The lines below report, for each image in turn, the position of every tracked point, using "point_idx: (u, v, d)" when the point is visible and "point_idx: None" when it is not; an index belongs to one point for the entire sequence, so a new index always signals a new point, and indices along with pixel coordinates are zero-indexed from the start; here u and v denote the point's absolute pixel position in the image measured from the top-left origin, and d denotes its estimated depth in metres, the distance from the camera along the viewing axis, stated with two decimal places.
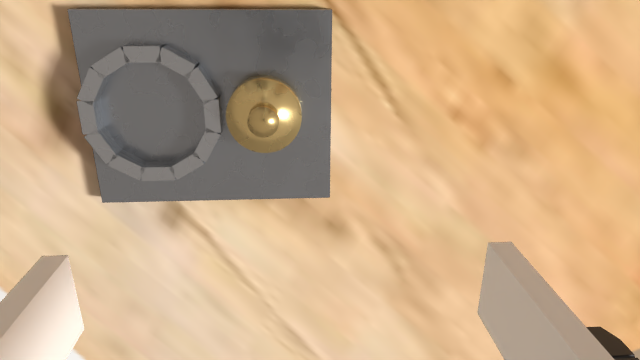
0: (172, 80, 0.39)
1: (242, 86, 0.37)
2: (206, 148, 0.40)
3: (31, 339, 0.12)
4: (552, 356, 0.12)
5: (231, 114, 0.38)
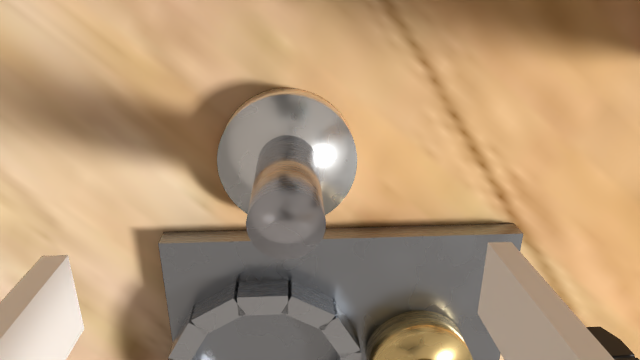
0: (294, 320, 0.28)
1: (398, 341, 0.27)
2: None
3: (31, 339, 0.12)
4: (552, 356, 0.12)
5: None
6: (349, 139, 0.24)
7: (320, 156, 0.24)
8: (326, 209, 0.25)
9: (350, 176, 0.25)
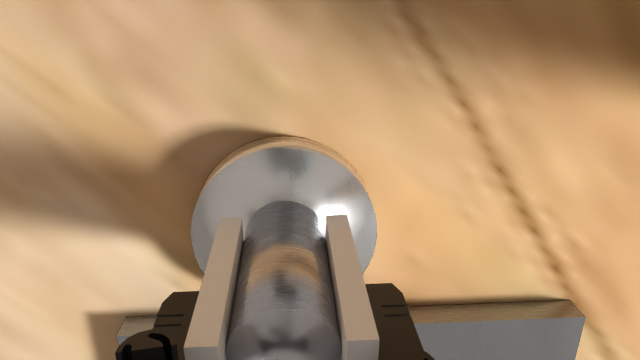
0: None
1: None
2: None
3: (236, 282, 0.15)
4: (336, 306, 0.13)
5: None
6: (367, 205, 0.18)
7: None
8: None
9: (367, 252, 0.19)
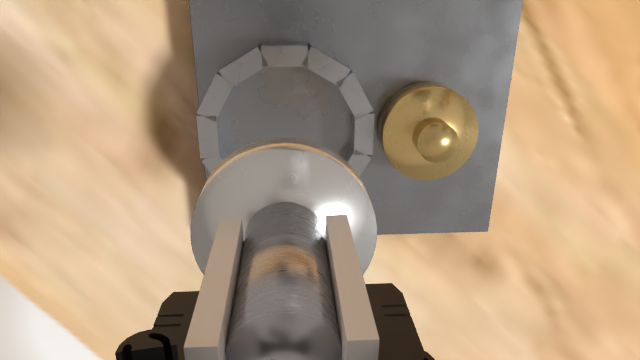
0: (312, 89, 0.31)
1: (409, 97, 0.29)
2: None
3: (236, 282, 0.15)
4: (336, 306, 0.13)
5: (391, 132, 0.30)
6: (367, 206, 0.18)
7: None
8: None
9: (367, 253, 0.19)
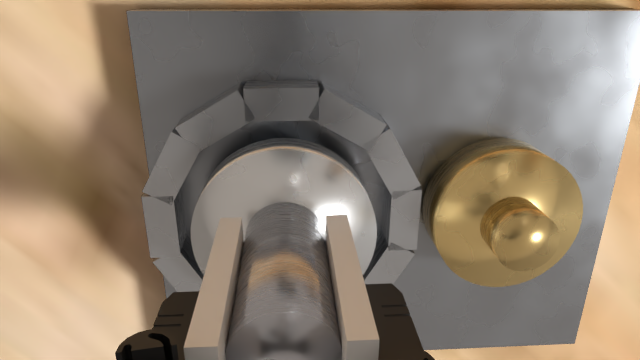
0: None
1: (478, 167, 0.18)
2: (384, 278, 0.21)
3: (236, 282, 0.15)
4: (337, 306, 0.13)
5: (447, 219, 0.19)
6: (367, 207, 0.18)
7: None
8: None
9: (367, 253, 0.19)
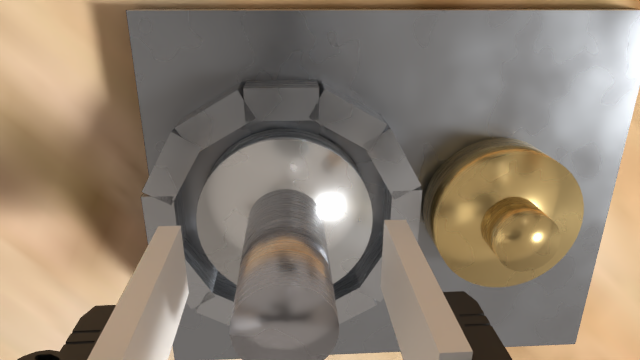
0: None
1: (479, 167, 0.18)
2: None
3: (165, 294, 0.14)
4: (412, 315, 0.13)
5: (448, 220, 0.19)
6: (363, 194, 0.19)
7: (326, 214, 0.19)
8: (333, 277, 0.20)
9: (364, 238, 0.20)
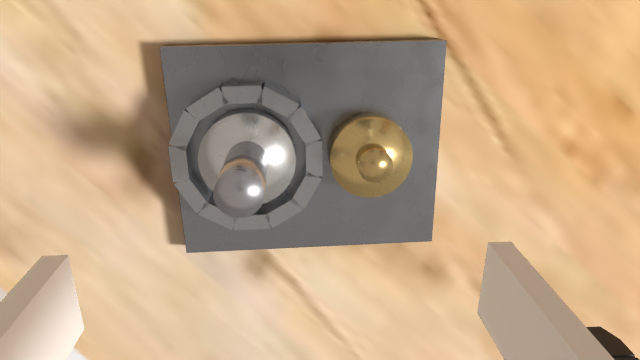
0: None
1: (350, 126, 0.34)
2: (305, 193, 0.36)
3: (31, 339, 0.12)
4: (552, 356, 0.12)
5: (336, 157, 0.35)
6: (289, 143, 0.35)
7: (269, 155, 0.35)
8: (276, 193, 0.36)
9: (291, 169, 0.35)
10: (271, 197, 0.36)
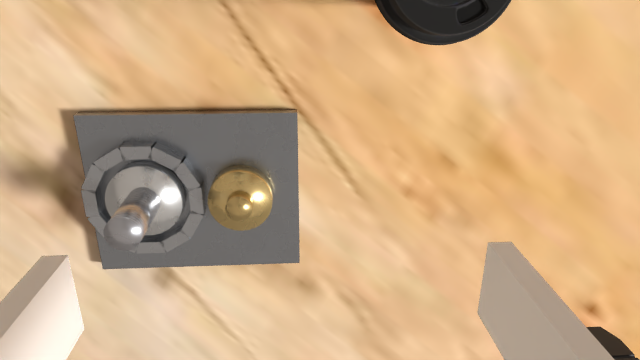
0: None
1: (221, 178, 0.44)
2: (191, 226, 0.46)
3: (31, 339, 0.12)
4: (552, 356, 0.12)
5: (212, 200, 0.45)
6: (175, 188, 0.45)
7: (160, 197, 0.45)
8: (169, 225, 0.46)
9: (179, 207, 0.46)
10: (165, 228, 0.46)
